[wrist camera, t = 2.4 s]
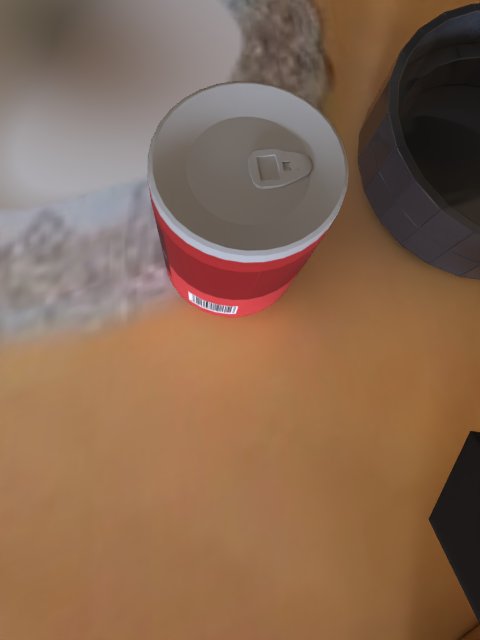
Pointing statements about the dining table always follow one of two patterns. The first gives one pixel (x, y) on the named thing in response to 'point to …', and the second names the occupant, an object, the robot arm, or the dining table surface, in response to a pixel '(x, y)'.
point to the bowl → (430, 144)
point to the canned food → (243, 192)
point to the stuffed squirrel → (473, 634)
